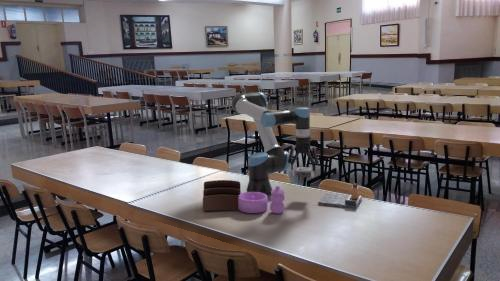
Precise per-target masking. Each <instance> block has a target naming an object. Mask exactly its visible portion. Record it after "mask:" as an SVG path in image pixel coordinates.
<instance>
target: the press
mask: <svg viewBox="0 0 500 281" xmlns="http://www.w3.org/2000/svg"><path fill="white" fill-rule="evenodd" d="M362 200H363V197H362V195H359V198H358V199H351V194H350V195H342V194H331V193H325V194H324V195H323V196H322V197H321V198H320V199H319V201H318V202H317V203H318V204H317V205H319V206H325V207H336V208H345V209H352V210H353V209H356V210H357V209H358V207H359V205H360V204H361V202H362Z"/></svg>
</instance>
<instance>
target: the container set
mask: <svg viewBox="0 0 500 281" xmlns="http://www.w3.org/2000/svg"><path fill="white" fill-rule="evenodd" d="M284 194H285V191H284V190H283V189H282V188H281V186H275V188H272V191H271V194H270V195H269V196H270V201H271V203H270V206H269V210H270V211H271V212H272V213H273V214H282V213H283V212H284V210H285V208H286V207H285V203H284V201H285V195H284ZM238 196H240V197H241V198H240V197H238V209H239V210H240V212H242V213H248V214H259V213H263V212H266V211H267V210H268V196H267V195H266V194H264V193H260V192H247V191H246V192H241V194H239V195H238Z"/></svg>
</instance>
